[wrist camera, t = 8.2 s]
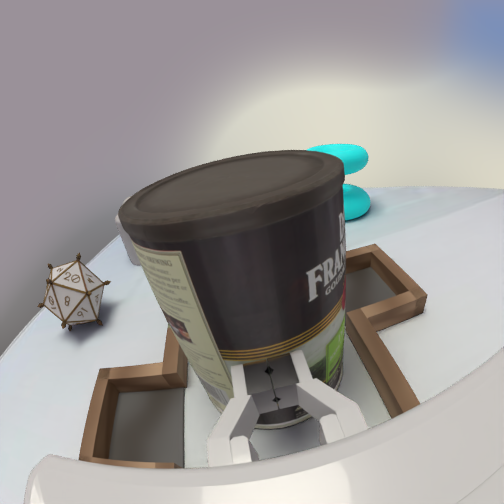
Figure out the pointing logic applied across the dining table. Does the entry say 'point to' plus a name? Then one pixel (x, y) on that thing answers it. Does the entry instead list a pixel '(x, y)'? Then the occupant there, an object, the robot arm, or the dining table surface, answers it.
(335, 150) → the donuts
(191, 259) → the coffee can
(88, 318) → the game die
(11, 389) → the dining table surface
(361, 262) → the brown wooden frame
